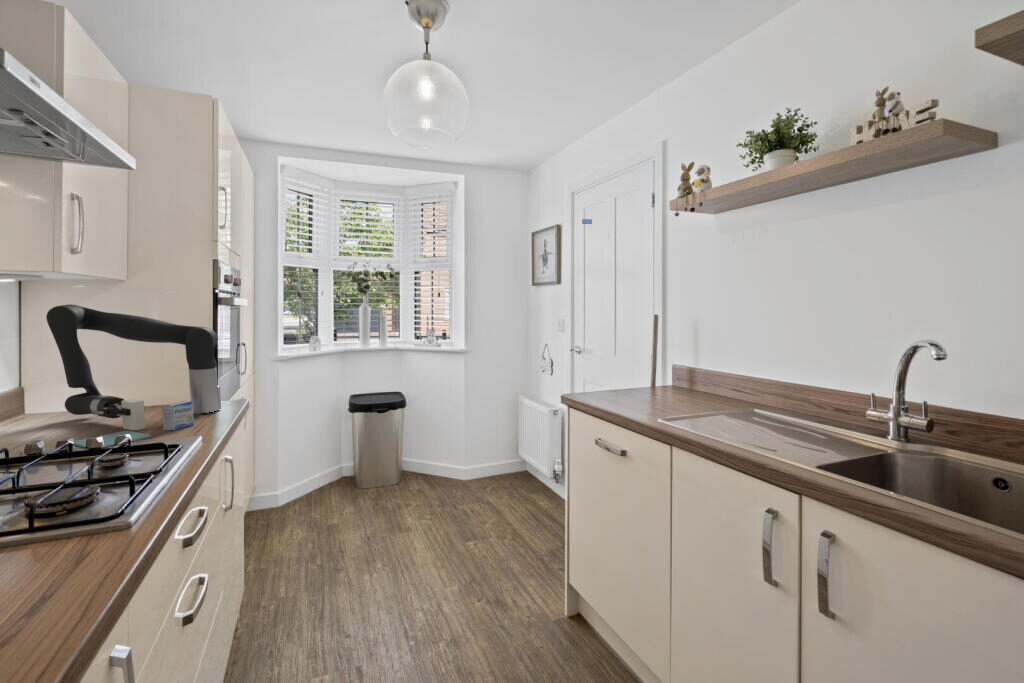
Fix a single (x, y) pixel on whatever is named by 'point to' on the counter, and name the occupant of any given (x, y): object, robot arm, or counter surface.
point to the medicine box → (177, 415)
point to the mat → (110, 438)
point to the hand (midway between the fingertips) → (136, 411)
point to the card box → (134, 414)
